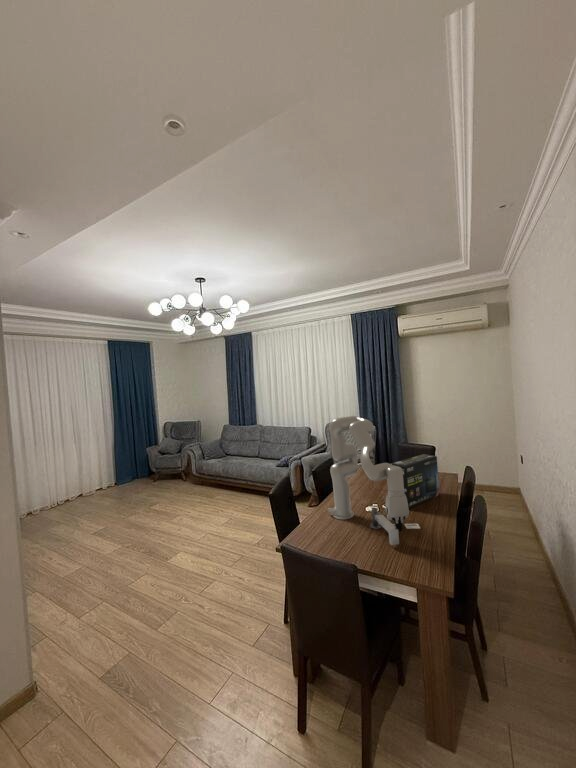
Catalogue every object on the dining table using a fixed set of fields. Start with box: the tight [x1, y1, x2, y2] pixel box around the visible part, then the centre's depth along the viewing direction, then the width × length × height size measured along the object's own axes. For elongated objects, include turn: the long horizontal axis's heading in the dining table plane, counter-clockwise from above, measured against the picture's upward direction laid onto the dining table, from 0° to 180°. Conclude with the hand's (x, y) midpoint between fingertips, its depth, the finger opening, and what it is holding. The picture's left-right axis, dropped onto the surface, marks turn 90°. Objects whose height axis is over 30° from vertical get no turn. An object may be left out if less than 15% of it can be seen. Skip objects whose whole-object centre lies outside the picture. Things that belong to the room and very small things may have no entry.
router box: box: [390, 453, 440, 509], centre depth 198 cm, size 36×11×27 cm, turn 123°
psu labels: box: [392, 523, 421, 530], centre depth 163 cm, size 16×5×1 cm, turn 81°
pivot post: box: [369, 506, 382, 530], centre depth 166 cm, size 6×6×10 cm
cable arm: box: [371, 511, 400, 546], centre depth 153 cm, size 20×4×7 cm, turn 8°
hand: (399, 530), depth 147 cm, fingers closed
